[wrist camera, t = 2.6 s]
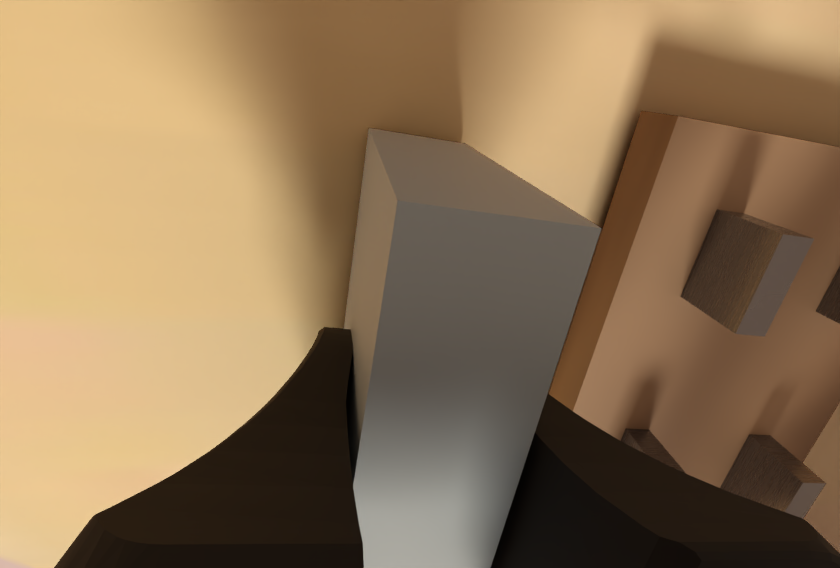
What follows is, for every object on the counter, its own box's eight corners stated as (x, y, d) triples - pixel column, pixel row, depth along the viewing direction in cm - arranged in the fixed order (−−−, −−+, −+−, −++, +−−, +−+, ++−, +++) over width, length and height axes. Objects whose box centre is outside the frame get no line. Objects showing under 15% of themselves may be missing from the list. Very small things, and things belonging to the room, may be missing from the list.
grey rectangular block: (496, 148, 12) (662, 236, 6) (426, 457, 16) (480, 715, 10) (368, 127, 11) (397, 200, 5) (327, 454, 15) (315, 728, 9)
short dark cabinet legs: (882, 234, 13) (970, 261, 11) (738, 490, 16) (787, 543, 15) (716, 209, 12) (783, 234, 10) (600, 488, 15) (634, 544, 14)
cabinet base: (917, 163, 14) (979, 174, 13) (742, 478, 18) (773, 510, 17) (641, 110, 12) (678, 116, 11) (522, 472, 17) (537, 508, 15)
